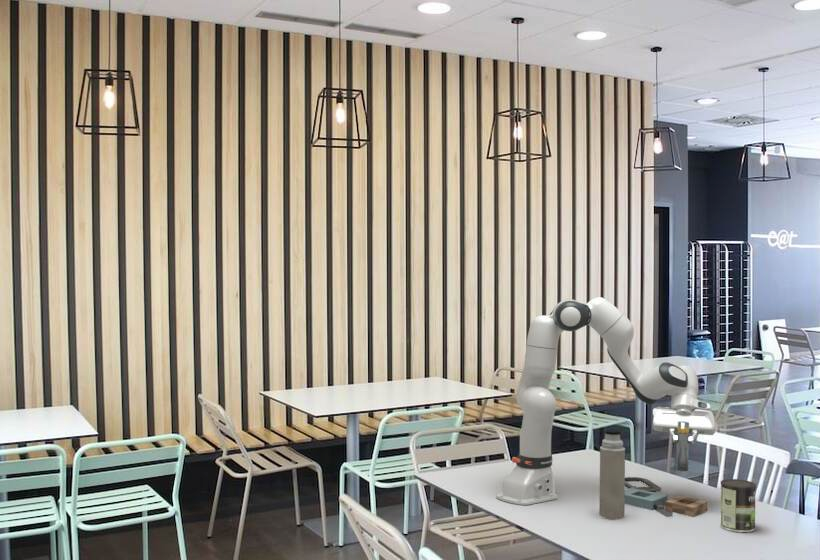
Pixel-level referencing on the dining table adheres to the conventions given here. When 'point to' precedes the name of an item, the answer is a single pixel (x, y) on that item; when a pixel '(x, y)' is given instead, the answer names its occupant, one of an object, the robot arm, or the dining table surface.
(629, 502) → the teal flat box
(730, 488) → the coffee can
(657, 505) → the drift key
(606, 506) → the thermos bottle
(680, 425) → the gray gold-collared cylinder
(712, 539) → the dining table surface
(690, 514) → the socket block
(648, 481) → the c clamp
